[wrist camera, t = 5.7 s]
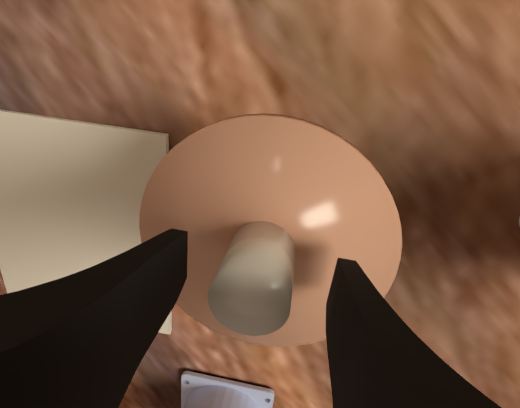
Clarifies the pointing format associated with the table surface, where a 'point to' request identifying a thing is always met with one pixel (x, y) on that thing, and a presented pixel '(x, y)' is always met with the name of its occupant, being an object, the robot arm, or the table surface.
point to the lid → (271, 224)
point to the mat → (70, 195)
